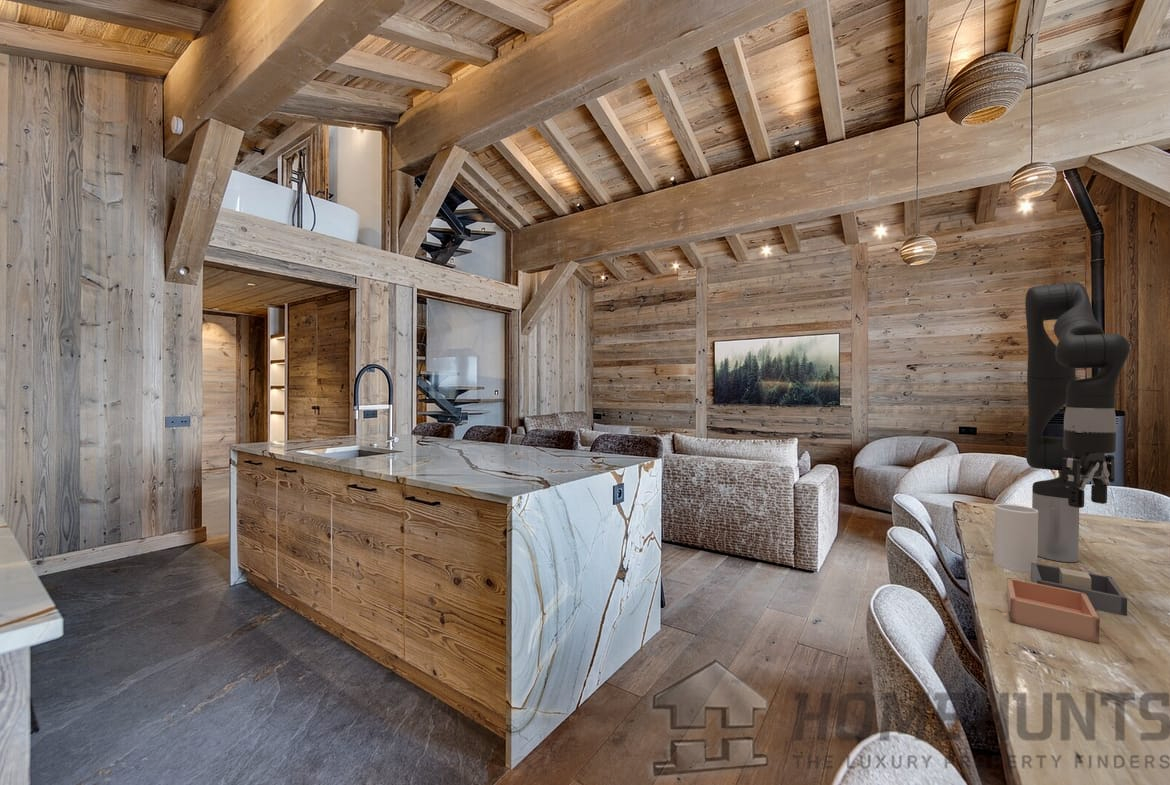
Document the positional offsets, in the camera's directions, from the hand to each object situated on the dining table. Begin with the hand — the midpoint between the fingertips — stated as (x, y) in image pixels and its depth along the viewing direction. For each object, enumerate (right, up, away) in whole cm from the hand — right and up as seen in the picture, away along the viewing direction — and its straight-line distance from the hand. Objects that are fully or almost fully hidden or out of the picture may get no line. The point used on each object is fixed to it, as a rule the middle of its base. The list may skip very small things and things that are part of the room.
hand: (1087, 504), depth 99 cm
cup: (+4, -22, +21) cm, 30 cm away
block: (+1, -21, +4) cm, 21 cm away
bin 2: (+1, -22, +4) cm, 22 cm away
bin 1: (-13, -22, -5) cm, 26 cm away
